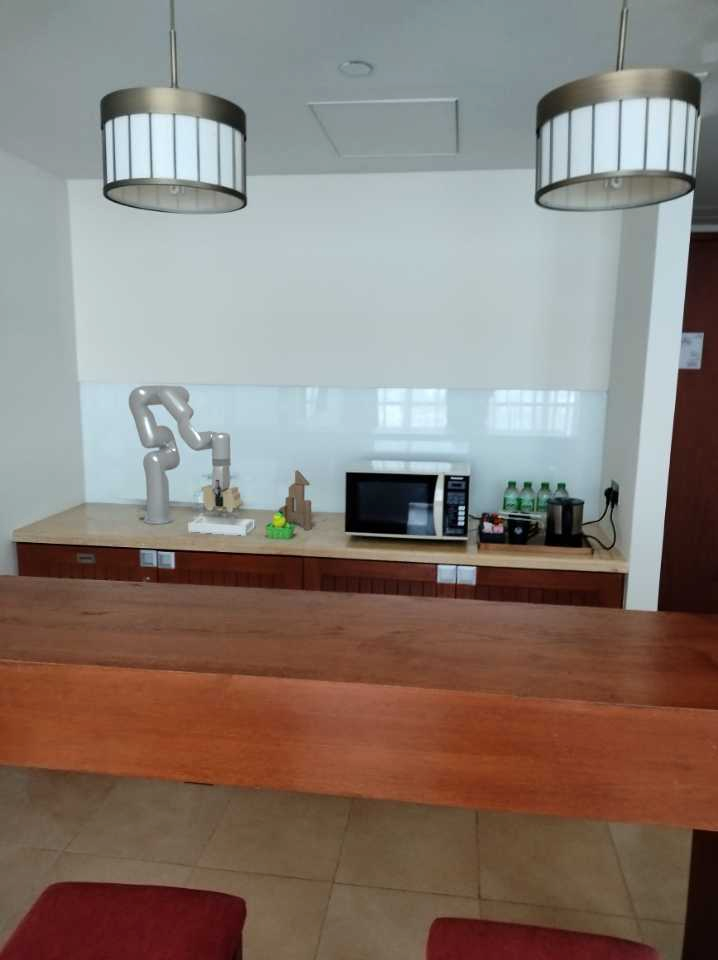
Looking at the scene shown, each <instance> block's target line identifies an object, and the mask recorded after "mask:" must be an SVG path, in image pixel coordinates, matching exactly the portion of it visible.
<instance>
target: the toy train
mask: <svg viewBox="0 0 718 960" xmlns="http://www.w3.org/2000/svg"><path fill="white" fill-rule="evenodd" d="M218 489H221V488H218ZM200 490H201V492H202V495H203V505H204V507H205V509H206V510H207V511H213V510H217V511H218V512H221V511H224V510H226V511H227V512H228V513H233V512H235V511H237V510H239V509H240V507H241V506H244V501H243V500H242V499H241V492H239V487H238V486H233V487H229V489H225V490H223V493H222V497H223V506H216V505H215V492H214V490H213V489H212V484H209V485H206V486H201V488H200ZM219 492H221V491H219Z"/></svg>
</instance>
